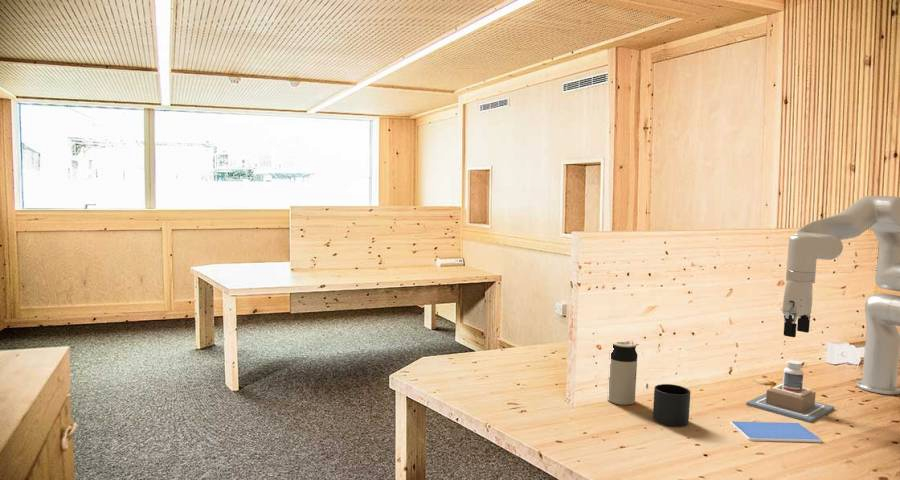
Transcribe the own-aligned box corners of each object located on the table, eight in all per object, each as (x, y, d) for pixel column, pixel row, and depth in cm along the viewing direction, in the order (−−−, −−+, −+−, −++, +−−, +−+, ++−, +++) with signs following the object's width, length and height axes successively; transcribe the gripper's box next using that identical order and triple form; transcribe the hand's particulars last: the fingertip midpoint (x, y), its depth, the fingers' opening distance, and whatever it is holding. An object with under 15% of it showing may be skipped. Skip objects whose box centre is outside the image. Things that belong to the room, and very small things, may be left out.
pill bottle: (804, 394, 193) (806, 365, 192) (785, 393, 194) (787, 363, 193) (798, 389, 198) (800, 360, 197) (779, 387, 199) (782, 359, 198)
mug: (678, 412, 189) (680, 381, 188) (693, 427, 177) (695, 395, 176) (645, 411, 189) (647, 380, 188) (659, 427, 177) (660, 394, 176)
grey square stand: (772, 393, 209) (773, 375, 208) (834, 409, 195) (835, 390, 195) (746, 404, 197) (747, 386, 196) (810, 422, 183) (812, 403, 183)
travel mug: (605, 403, 195) (608, 343, 193) (609, 395, 202) (612, 338, 201) (633, 407, 192) (636, 347, 190) (636, 399, 199) (639, 341, 198)
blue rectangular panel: (748, 443, 169) (749, 438, 169) (728, 424, 182) (728, 420, 181) (823, 445, 169) (824, 440, 169) (798, 426, 182) (798, 422, 181)
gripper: (798, 272, 201) (794, 327, 202) (774, 277, 189) (770, 335, 191) (825, 276, 195) (821, 332, 197) (802, 281, 184) (797, 340, 185)
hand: (796, 334), depth 194 cm, fingers open, 9 cm apart
